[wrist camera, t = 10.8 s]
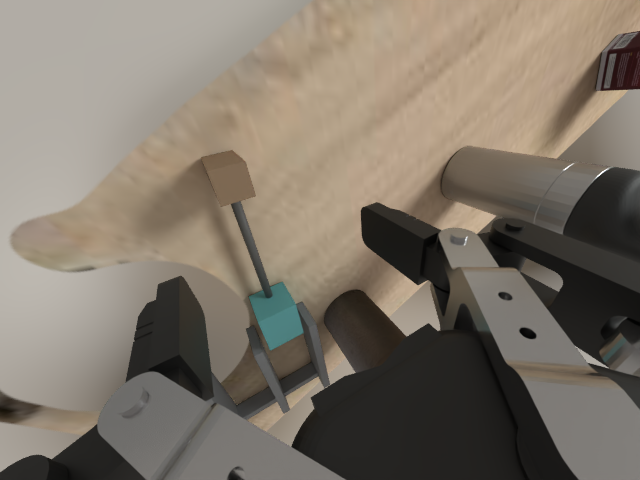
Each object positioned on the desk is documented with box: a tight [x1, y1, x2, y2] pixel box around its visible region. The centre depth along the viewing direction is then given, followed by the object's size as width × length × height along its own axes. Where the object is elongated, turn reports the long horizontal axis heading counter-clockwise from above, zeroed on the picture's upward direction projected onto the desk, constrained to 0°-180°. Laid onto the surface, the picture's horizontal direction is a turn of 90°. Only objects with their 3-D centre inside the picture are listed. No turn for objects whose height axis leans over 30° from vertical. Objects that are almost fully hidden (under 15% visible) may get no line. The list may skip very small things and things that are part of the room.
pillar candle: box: [324, 290, 406, 373], centre depth 39 cm, size 10×10×15 cm
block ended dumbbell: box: [201, 150, 304, 351], centre depth 28 cm, size 5×24×6 cm, turn 9°
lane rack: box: [206, 302, 330, 420], centre depth 39 cm, size 17×18×5 cm
